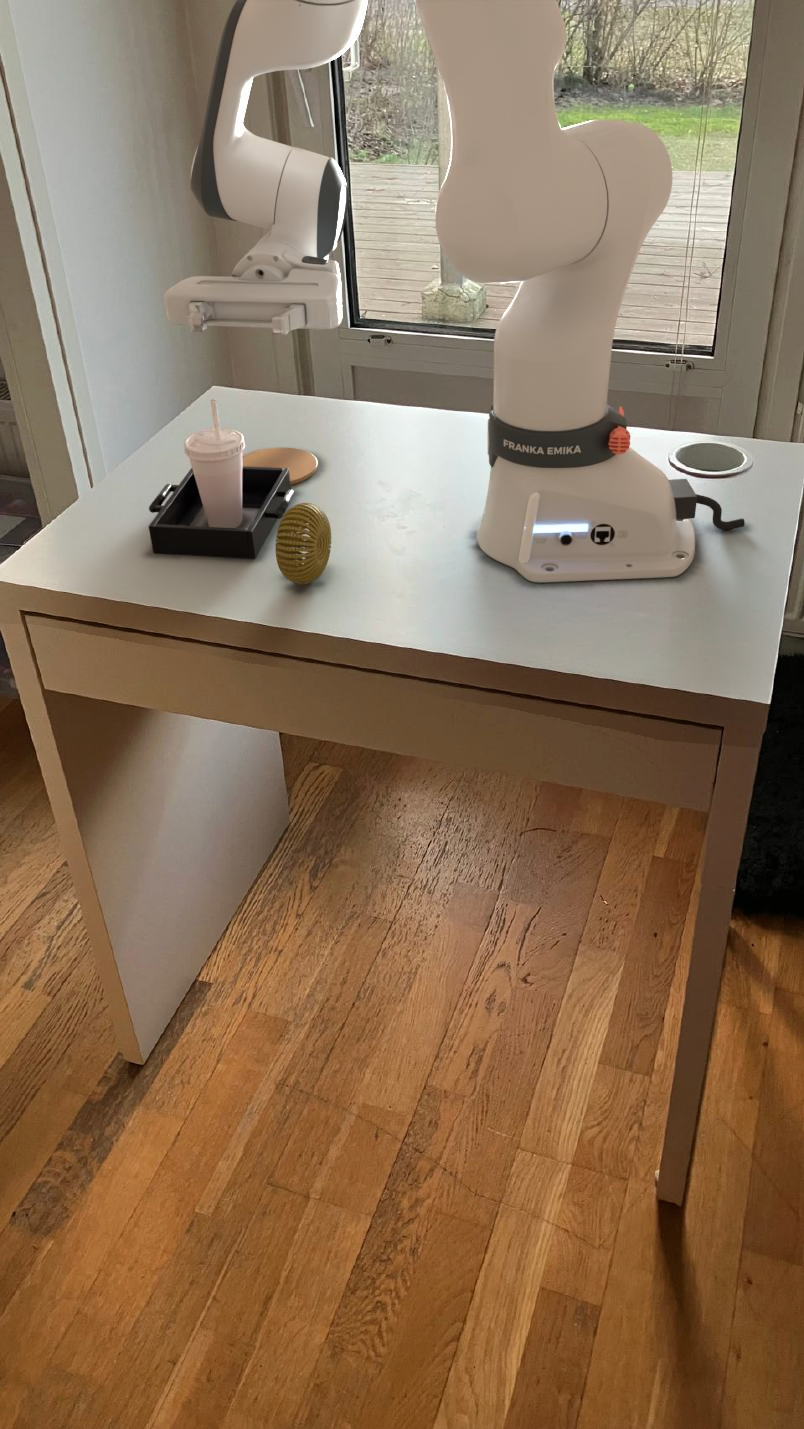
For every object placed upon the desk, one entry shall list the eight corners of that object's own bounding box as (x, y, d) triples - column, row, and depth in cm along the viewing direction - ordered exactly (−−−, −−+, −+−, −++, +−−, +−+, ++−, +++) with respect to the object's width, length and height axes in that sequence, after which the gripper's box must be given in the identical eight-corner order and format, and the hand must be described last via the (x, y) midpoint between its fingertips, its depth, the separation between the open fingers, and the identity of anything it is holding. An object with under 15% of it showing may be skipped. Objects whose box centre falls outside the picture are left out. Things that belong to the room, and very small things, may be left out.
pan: (307, 494, 135) (305, 468, 133) (272, 560, 123) (269, 532, 121) (182, 489, 137) (178, 463, 135) (136, 552, 125) (131, 525, 123)
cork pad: (326, 452, 144) (325, 448, 144) (306, 489, 136) (306, 485, 136) (246, 449, 145) (246, 445, 145) (223, 485, 138) (222, 481, 137)
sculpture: (303, 557, 123) (296, 487, 118) (339, 562, 122) (334, 491, 117) (273, 596, 117) (265, 523, 112) (311, 601, 116) (304, 528, 111)
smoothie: (244, 538, 127) (228, 413, 119) (187, 534, 128) (167, 411, 120) (261, 511, 132) (247, 389, 124) (206, 507, 133) (189, 387, 125)
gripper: (182, 257, 140) (141, 295, 129) (351, 261, 137) (324, 299, 126) (189, 311, 144) (150, 352, 133) (354, 316, 140) (328, 358, 130)
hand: (236, 326), depth 129 cm, fingers open, 8 cm apart
